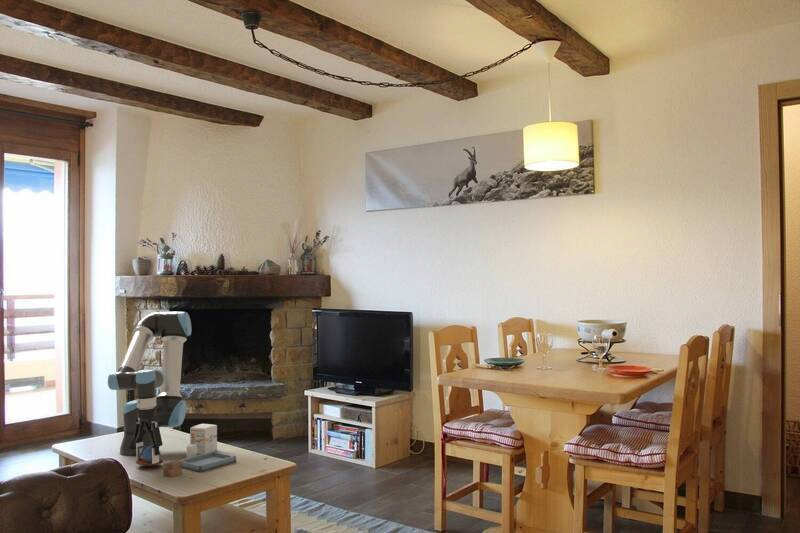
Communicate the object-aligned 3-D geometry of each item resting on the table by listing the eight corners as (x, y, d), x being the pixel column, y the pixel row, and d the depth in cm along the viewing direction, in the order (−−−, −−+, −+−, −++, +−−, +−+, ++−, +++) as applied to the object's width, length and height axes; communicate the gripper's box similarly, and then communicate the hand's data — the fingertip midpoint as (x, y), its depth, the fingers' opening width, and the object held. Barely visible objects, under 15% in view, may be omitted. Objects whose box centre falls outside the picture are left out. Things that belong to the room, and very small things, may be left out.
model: (167, 461, 272) (166, 439, 272) (146, 467, 265) (145, 444, 265) (152, 456, 280) (151, 434, 280) (131, 461, 273) (131, 439, 273)
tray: (177, 466, 271) (177, 460, 271) (214, 456, 285) (214, 451, 286) (199, 472, 262) (199, 466, 262) (236, 461, 276) (236, 456, 276)
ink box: (189, 453, 293) (189, 427, 293) (202, 448, 300) (201, 423, 301) (205, 454, 289) (205, 428, 290) (217, 450, 297) (217, 424, 297)
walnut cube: (163, 476, 258) (163, 463, 258) (171, 472, 263) (171, 460, 263) (173, 477, 257) (173, 464, 257) (181, 473, 261) (181, 461, 261)
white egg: (184, 460, 281) (184, 446, 282) (193, 457, 285) (193, 443, 285) (190, 461, 279) (190, 447, 279) (199, 459, 282) (199, 445, 282)
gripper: (122, 406, 276) (124, 458, 276) (154, 412, 261) (155, 467, 261) (139, 402, 281) (140, 453, 282) (170, 409, 267) (172, 462, 267)
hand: (147, 460), depth 271 cm, fingers closed on model, 11 cm apart
